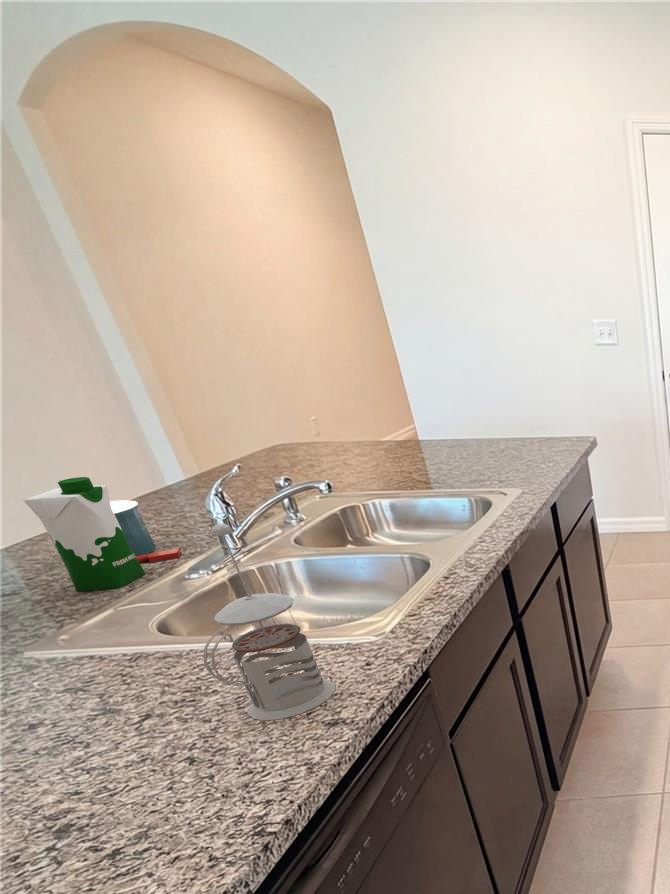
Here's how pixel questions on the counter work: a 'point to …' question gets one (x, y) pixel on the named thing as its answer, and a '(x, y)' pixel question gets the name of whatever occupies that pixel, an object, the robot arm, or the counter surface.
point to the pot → (136, 532)
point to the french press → (270, 655)
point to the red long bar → (160, 556)
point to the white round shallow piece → (123, 506)
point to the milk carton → (87, 534)
